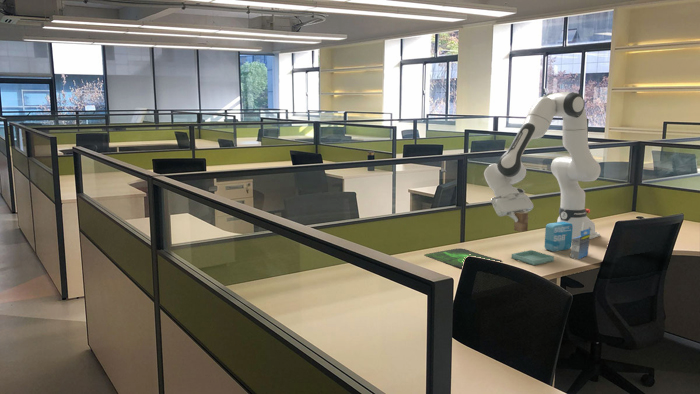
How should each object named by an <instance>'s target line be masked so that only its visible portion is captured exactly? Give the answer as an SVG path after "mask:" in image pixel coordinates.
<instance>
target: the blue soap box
mask: <svg viewBox="0 0 700 394" xmlns="http://www.w3.org/2000/svg"><path fill="white" fill-rule="evenodd" d="M572 228H573V226H572V224H571V223H567V222H557V221H556V222H550V223H547V224H546V225H545V231H544V232H545V234H544V249H545V250H547V251H550V252H554V253H555V252H560V251H568V250H571V246H572Z"/></svg>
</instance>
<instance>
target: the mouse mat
mask: <svg viewBox="0 0 700 394" xmlns="http://www.w3.org/2000/svg"><path fill="white" fill-rule="evenodd" d="M469 254H471V255H469ZM423 256H424V257H426V258H430V259H432V260H434V261H438V262H441V263H443V264H445V265H449V266H451V267H454V268H459V269H461V270H463V269H462V266H463V262H464V260H465V258H466V257H467V256H476V257H481V258H485V259H490V260H495V261H500V262H501V263H502V262H503V261H502V259H499V258H496V257H495V258H494V257H491V256H488V255H485V254H480V253H477V252H473V251H472V250H468V249H466V248H459V247H458V248H452V249H446V250H442V251H436V252H431V253H430V252H429V253H426V254H423ZM464 257H465V258H464ZM463 259H464V260H463ZM462 261H463V262H462Z"/></svg>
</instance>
